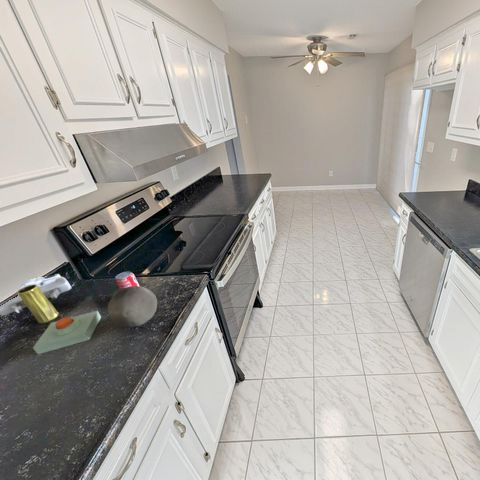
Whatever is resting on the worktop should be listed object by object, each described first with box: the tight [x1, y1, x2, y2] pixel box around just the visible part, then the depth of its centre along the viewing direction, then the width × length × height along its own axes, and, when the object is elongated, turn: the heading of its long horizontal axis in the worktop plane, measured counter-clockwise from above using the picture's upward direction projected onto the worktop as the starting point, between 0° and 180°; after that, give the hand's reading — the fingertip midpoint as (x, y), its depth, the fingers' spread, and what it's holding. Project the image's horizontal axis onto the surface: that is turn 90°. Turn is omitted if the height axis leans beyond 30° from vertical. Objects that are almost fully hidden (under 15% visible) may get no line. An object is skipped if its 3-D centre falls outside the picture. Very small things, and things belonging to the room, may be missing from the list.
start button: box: [55, 316, 73, 329], centre depth 88 cm, size 4×4×2 cm
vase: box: [16, 284, 60, 324], centre depth 96 cm, size 6×6×14 cm
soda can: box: [115, 271, 140, 291], centre depth 104 cm, size 6×6×12 cm
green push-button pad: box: [32, 310, 102, 355], centre depth 89 cm, size 14×12×5 cm
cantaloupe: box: [107, 285, 158, 329], centre depth 90 cm, size 14×14×15 cm
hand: (37, 303), depth 95 cm, fingers open, 8 cm apart
